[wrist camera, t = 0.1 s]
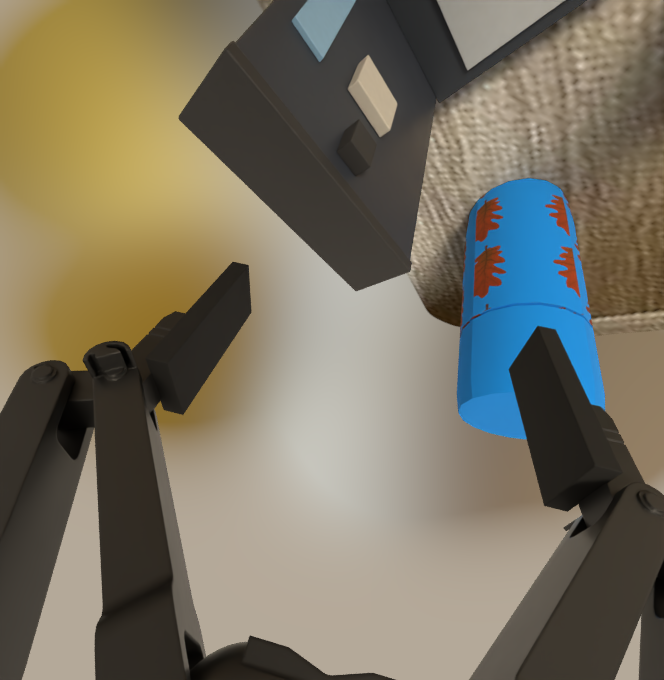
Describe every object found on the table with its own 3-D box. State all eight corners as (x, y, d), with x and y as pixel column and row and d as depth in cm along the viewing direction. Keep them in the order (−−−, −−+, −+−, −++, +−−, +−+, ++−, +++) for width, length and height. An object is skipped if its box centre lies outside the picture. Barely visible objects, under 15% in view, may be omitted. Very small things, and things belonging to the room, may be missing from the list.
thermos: (467, 255, 47) (459, 432, 34) (464, 186, 38) (451, 386, 26) (561, 247, 42) (589, 447, 30) (580, 167, 34) (630, 397, 22)
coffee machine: (599, -441, 14) (1008, -1209, 3) (641, -52, 22) (797, 141, 11) (306, -39, 26) (168, 110, 15) (402, 120, 34) (359, 295, 23)
